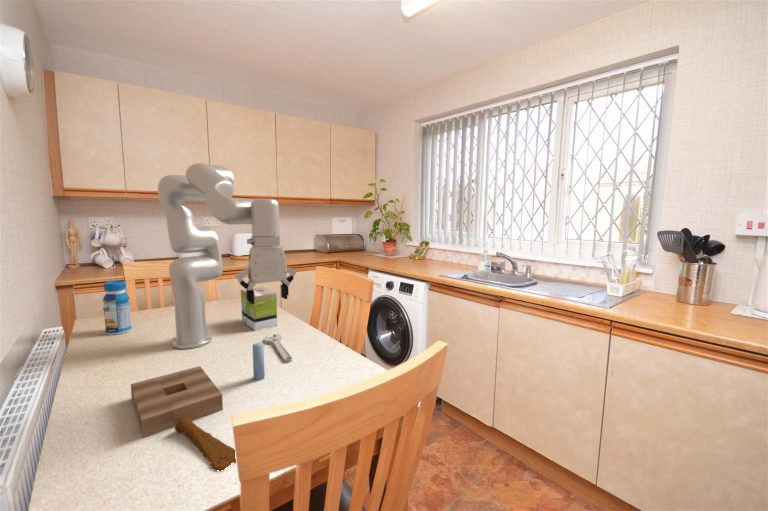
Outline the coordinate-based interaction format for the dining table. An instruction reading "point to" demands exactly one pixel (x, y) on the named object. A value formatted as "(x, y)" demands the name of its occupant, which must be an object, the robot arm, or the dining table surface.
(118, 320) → the blue-capped supplement jar
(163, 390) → the hole block
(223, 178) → the robot arm
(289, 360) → the adjustable wrench
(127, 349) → the dining table surface
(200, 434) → the primitive tool
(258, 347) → the peg
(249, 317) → the tea box
